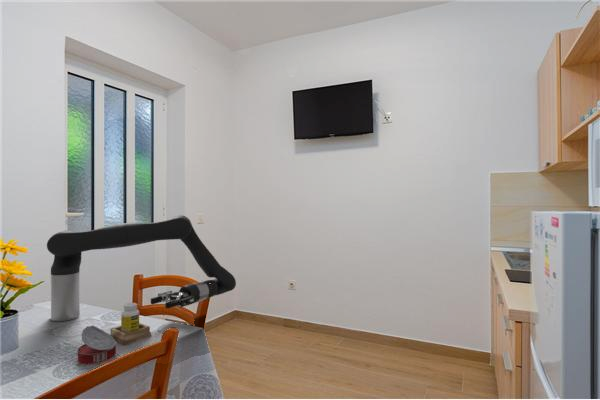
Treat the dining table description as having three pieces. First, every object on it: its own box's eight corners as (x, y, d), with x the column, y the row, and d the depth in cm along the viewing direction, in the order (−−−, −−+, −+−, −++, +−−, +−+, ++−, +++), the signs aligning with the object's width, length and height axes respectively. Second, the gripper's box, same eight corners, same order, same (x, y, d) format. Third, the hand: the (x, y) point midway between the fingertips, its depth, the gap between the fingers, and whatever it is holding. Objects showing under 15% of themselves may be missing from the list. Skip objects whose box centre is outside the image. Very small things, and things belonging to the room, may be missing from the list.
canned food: (101, 364, 109) (115, 330, 114) (115, 371, 103) (129, 335, 107) (63, 358, 102) (79, 322, 106) (75, 365, 96) (93, 327, 100)
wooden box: (109, 338, 117) (109, 329, 117) (135, 329, 125) (135, 320, 125) (125, 345, 112) (125, 335, 112) (151, 335, 120) (151, 326, 120)
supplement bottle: (132, 337, 115) (132, 307, 115) (117, 335, 116) (117, 306, 116) (142, 331, 121) (142, 302, 120) (128, 329, 122) (128, 301, 122)
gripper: (182, 281, 145) (146, 290, 131) (206, 286, 137) (171, 296, 123) (182, 299, 145) (146, 310, 131) (206, 305, 137) (171, 317, 123)
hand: (158, 303), depth 127 cm, fingers open, 8 cm apart
